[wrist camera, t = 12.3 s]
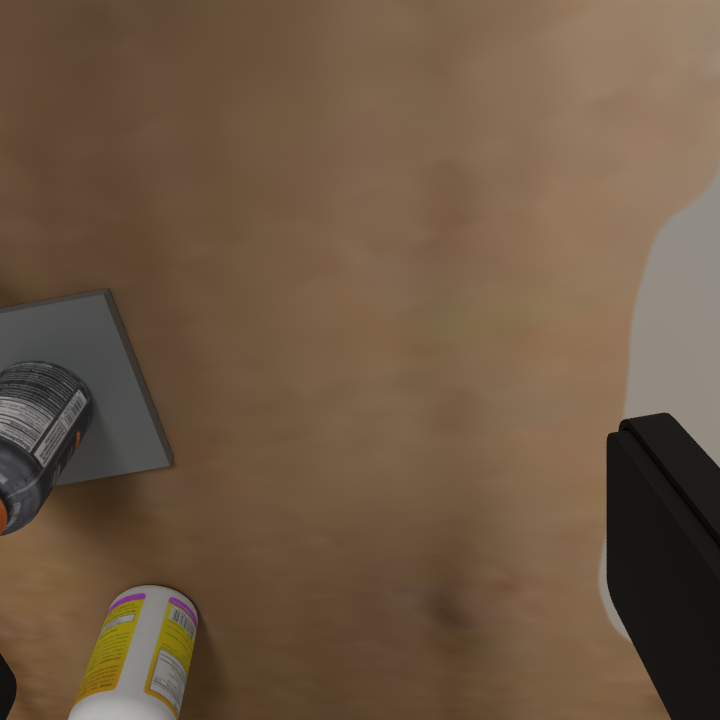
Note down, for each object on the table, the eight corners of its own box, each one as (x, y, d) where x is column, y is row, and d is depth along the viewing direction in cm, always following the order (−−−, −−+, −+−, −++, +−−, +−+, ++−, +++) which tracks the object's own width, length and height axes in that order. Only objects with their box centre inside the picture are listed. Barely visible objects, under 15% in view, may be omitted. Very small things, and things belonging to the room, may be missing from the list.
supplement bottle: (103, 632, 49) (34, 814, 37) (119, 571, 46) (51, 747, 35) (189, 650, 50) (148, 831, 39) (210, 592, 48) (173, 768, 36)
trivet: (-92, 325, 37) (-102, 332, 36) (108, 288, 36) (103, 294, 36) (-3, 487, 42) (-10, 497, 41) (173, 457, 42) (169, 466, 41)
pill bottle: (47, 457, 40) (-46, 598, 30) (-29, 392, 38) (-157, 520, 28) (117, 410, 39) (43, 540, 29) (42, 338, 37) (-66, 453, 27)
